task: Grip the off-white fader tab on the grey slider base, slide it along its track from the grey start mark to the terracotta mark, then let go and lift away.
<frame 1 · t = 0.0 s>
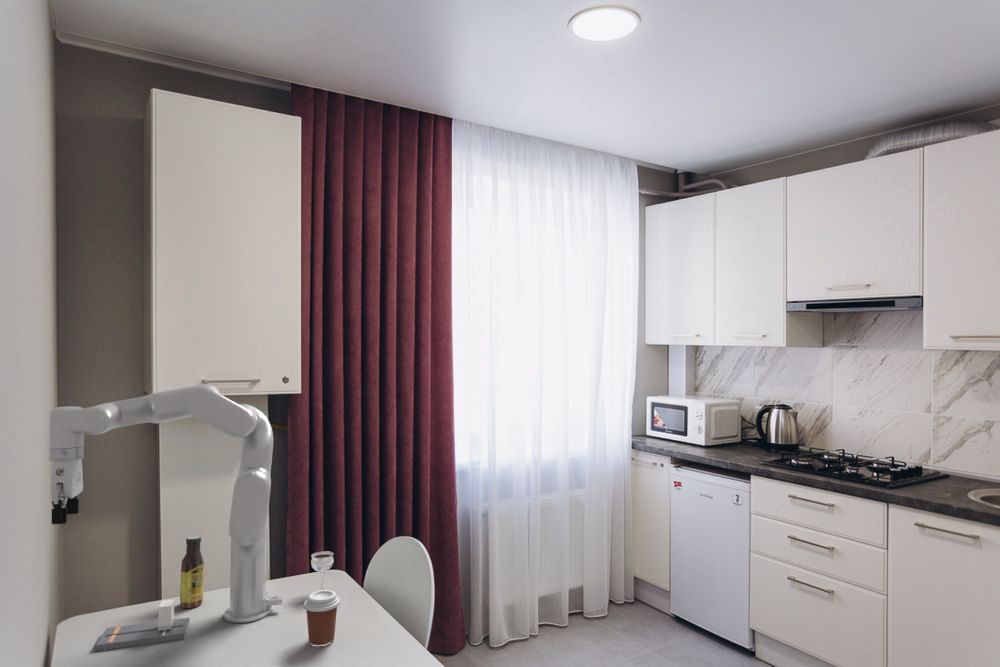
hand: (65, 518, 163), 31 cm above the table, tool pointing down, fingers open, 9 cm apart
coffee cup: (321, 642, 161), on the table
sauce bottle: (191, 605, 183), on the table
grey slider base: (144, 636, 163), on the table
fader: (166, 614, 165), point 5 cm above the table, slide at 0.0 cm
wineglass: (322, 594, 192), on the table
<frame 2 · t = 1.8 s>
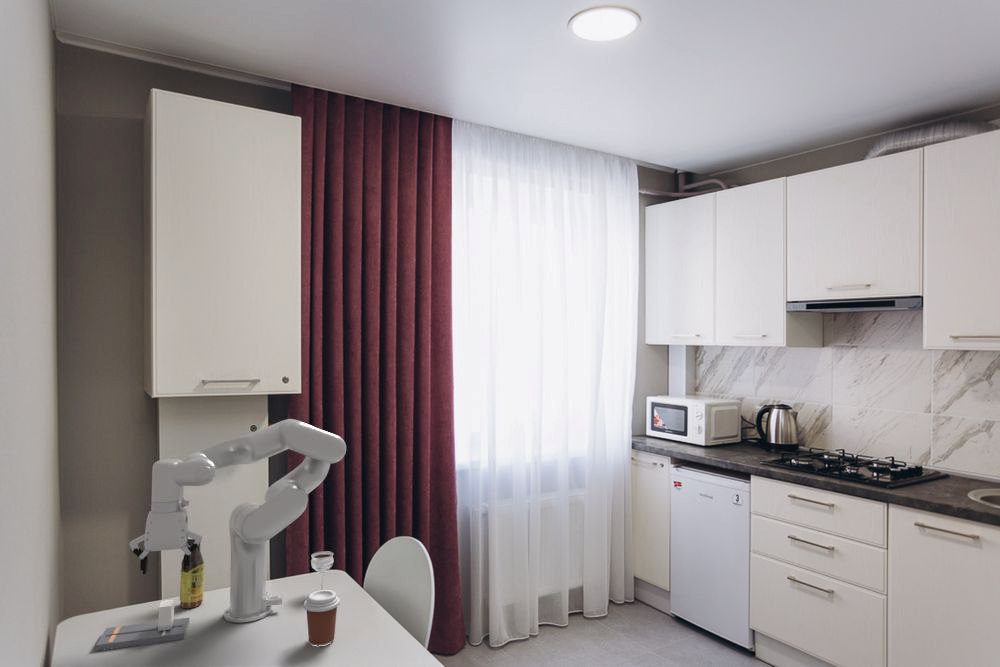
hand: (165, 570, 165), 17 cm above the table, tool pointing down, fingers open, 9 cm apart
nothing on the table moved.
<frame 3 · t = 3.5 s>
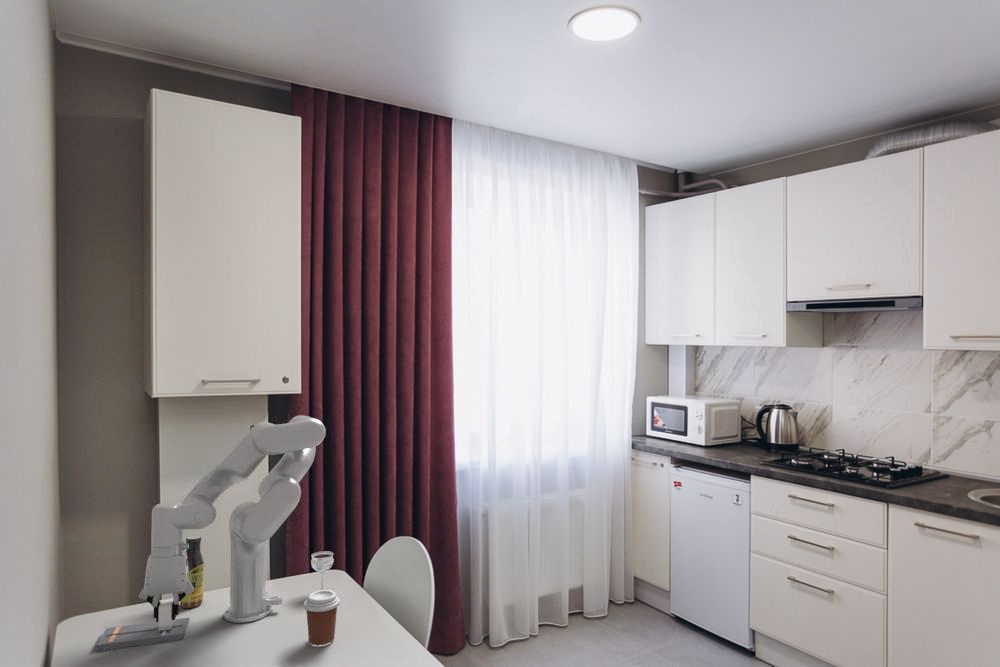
hand: (166, 618, 165), 4 cm above the table, tool pointing down, fingers closed on fader, 3 cm apart
fader: (166, 614, 165), point 5 cm above the table, slide at 0.0 cm, touching gripper
everything else where it was.
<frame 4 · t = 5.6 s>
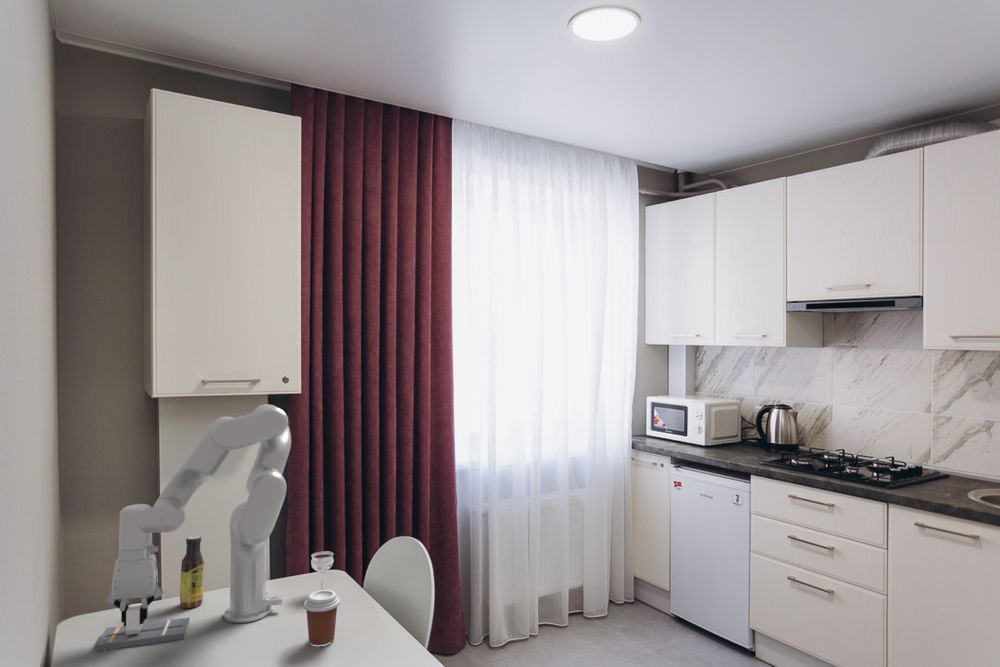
hand: (134, 622, 163), 4 cm above the table, tool pointing down, fingers closed on fader, 3 cm apart
fader: (134, 618, 163), point 5 cm above the table, slide at 7.5 cm, touching gripper
everything else where it was.
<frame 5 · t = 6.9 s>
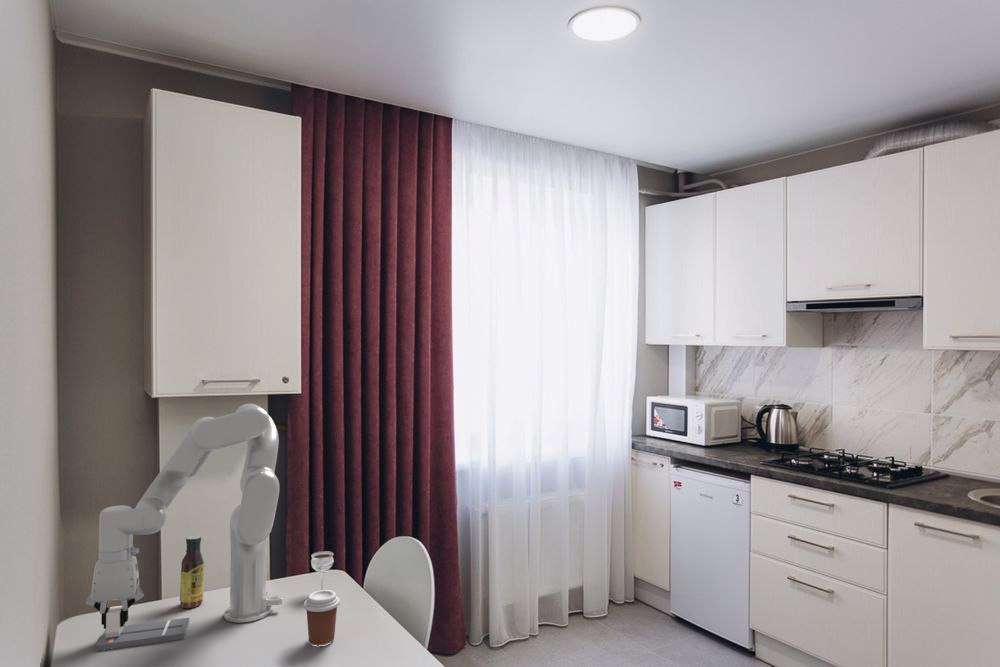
hand: (114, 625, 161), 4 cm above the table, tool pointing down, fingers closed on fader, 3 cm apart
fader: (114, 621, 161), point 5 cm above the table, slide at 12.0 cm, touching gripper
everything else where it was.
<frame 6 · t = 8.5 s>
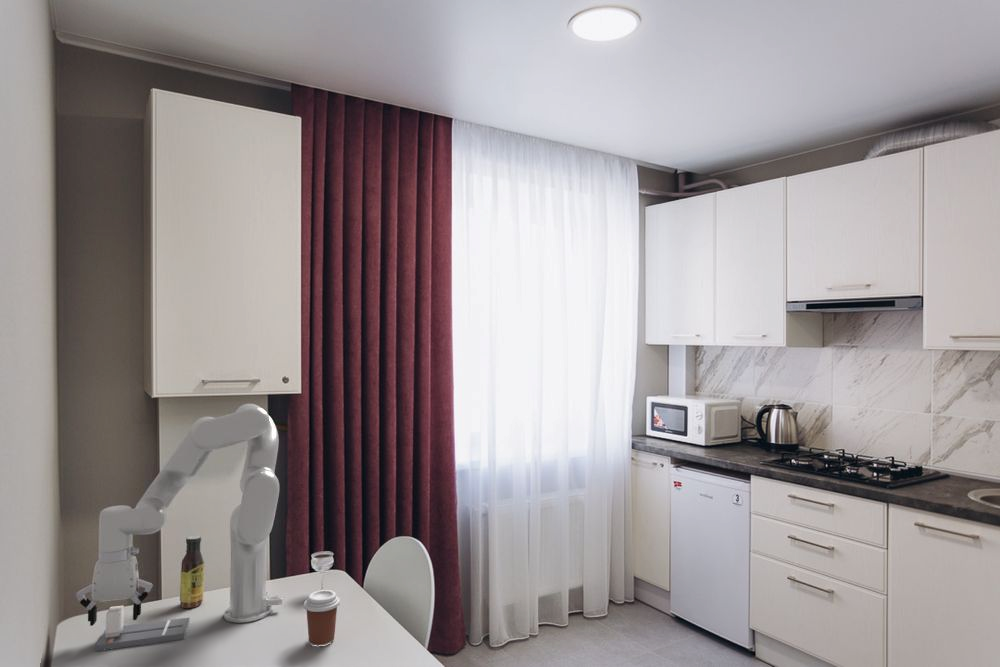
hand: (114, 620, 161), 5 cm above the table, tool pointing down, fingers open, 9 cm apart
fader: (114, 621, 161), point 5 cm above the table, slide at 12.0 cm
everything else where it was.
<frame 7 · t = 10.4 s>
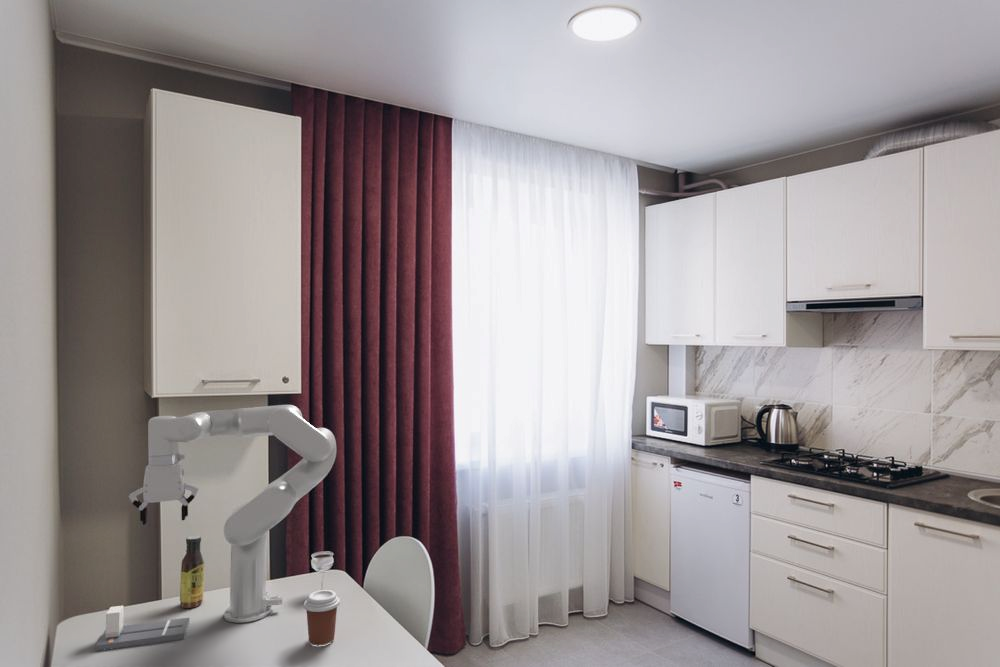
hand: (164, 521, 174), 28 cm above the table, tool pointing down, fingers open, 9 cm apart
nothing on the table moved.
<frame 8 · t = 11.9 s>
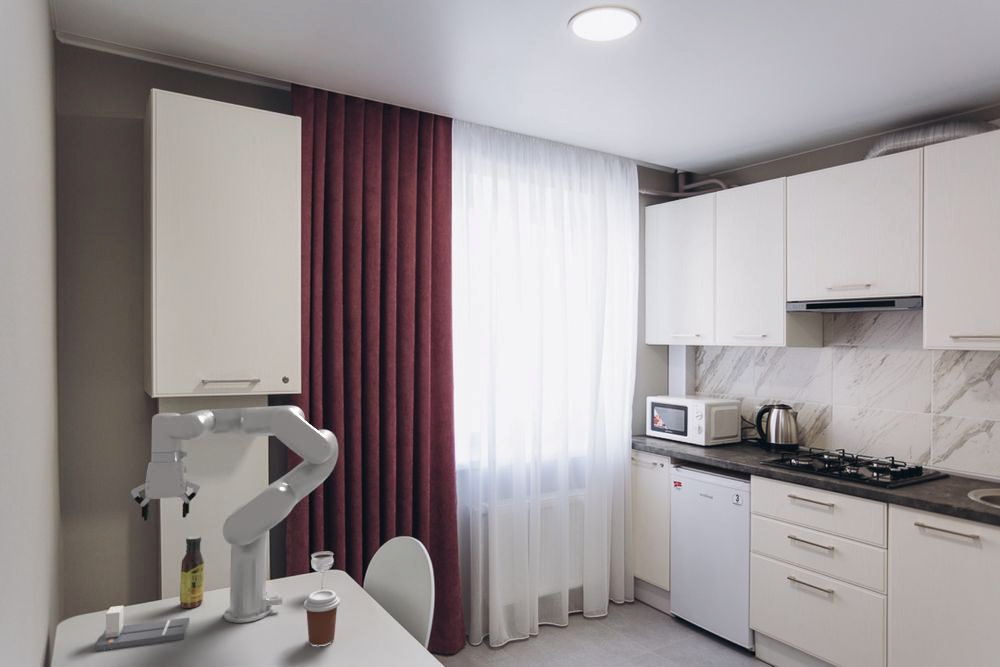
hand: (165, 517, 174), 28 cm above the table, tool pointing down, fingers open, 9 cm apart
nothing on the table moved.
at the end: fader slide at 12.0 cm; the gripper is holding nothing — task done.
